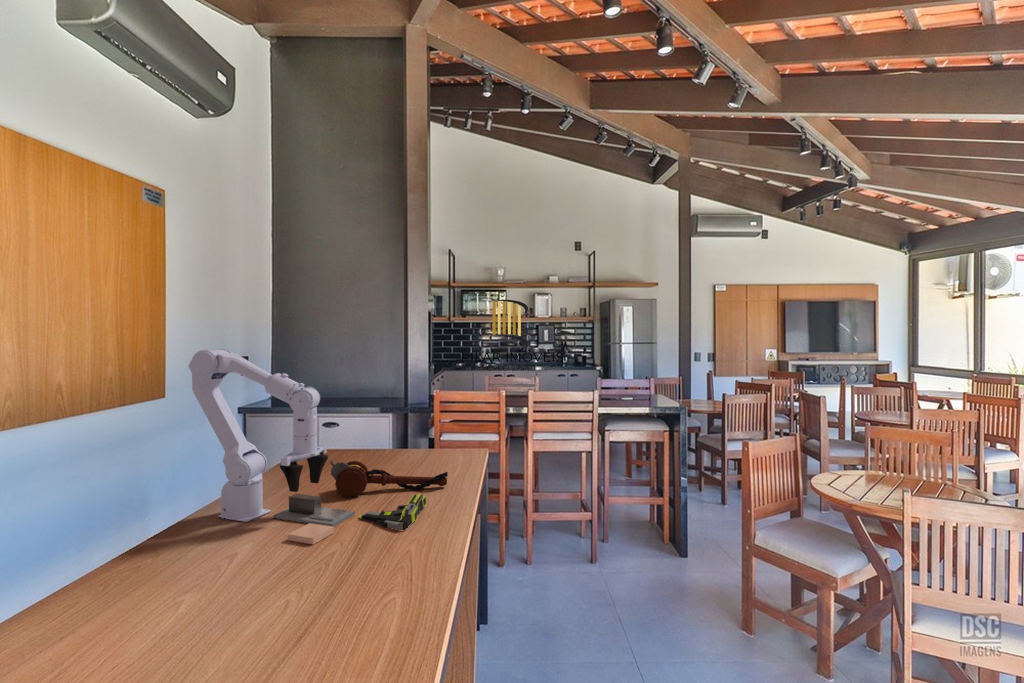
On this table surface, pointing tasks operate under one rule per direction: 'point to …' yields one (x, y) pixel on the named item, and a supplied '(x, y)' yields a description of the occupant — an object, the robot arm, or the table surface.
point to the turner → (313, 507)
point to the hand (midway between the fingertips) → (304, 486)
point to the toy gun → (398, 514)
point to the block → (310, 533)
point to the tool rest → (306, 518)
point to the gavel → (375, 478)
